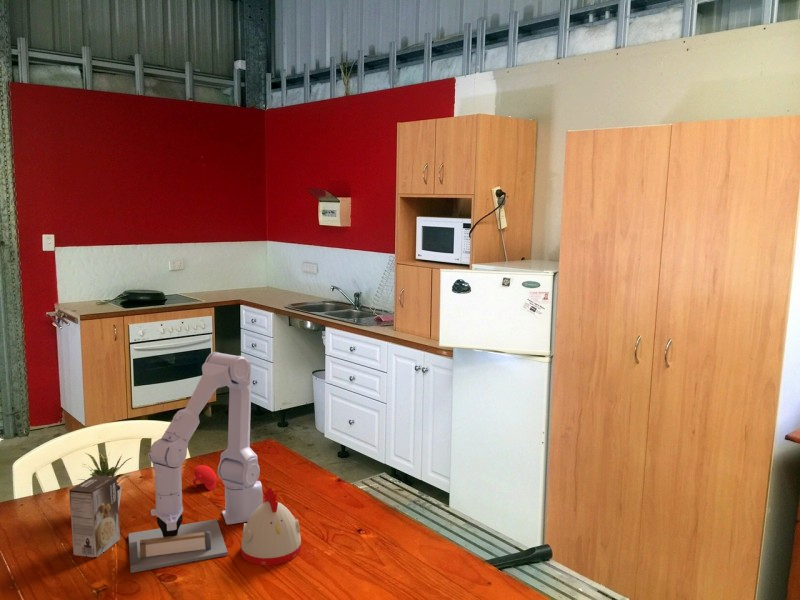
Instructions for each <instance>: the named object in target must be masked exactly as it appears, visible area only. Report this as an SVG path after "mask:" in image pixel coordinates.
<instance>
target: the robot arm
mask: <svg viewBox="0 0 800 600" xmlns="http://www.w3.org/2000/svg"><path fill="white" fill-rule="evenodd" d="M251 364H252V363H251V361H250V360H249V359H247V358H246V357H245V356H243V355H234V354H229V353H222V352H219V351H213V352H210V353H209V355H208V356H207V357H206V359H205V362H204V363H203V364H202V365H201V372H202V375H201V377H200V379H199V380H198V383H197V385H196V387H195V389H194V391H193V393H192V395H191V397H190V398H189V400H188V403H187V404H186V406H185V408H182V409H179V410H178V411H176V413H175V414H174V415H173V417H172V420H171V421H170V423H169V425H168V427H167V428H166V430H165V431H164V433H163V435H162V436H161V437H160V438H158V439H157V440H155V441H154V442H152V444H151V447H150V450H149V452H148V453H147V456H148V459H149V461H150V462H151V464H152V469H153V470H154V485H155V486H154V487H155V488H154V489H155V490H154V491H155V492H154V493H155V508H154V509H151V510H150V516H153V517H154V516H155V517H156V524H157V526H158V528H160V529H161V531H162V534H163V537H169V536H177V534H178V530H179V527H180V525H182V523H183V520H184V517H183V512H184V506H183V492H182V490H183V489H182V485H183V484H182V464H183V463H184V461H185V460H186V459H187V455H188V447H189V442H190V440H191V439H192V436H193V435H194V433H195V431H196V430H197V428H198V426H199V424H200V421H201V420H200V417H199V415H200V414H201V412H202V410H203V409H204V408H205V406H206V405H207V403H208V402H209V400H210V399H211V398H212V396H213V395H214V393H216V390H217V389H220V388H224V387H227V388H229V395H228V396H229V397H228V428H227V429H228V434H227V436H228V437H227V448H226V449H225V450H223V451H222V452H221V453H220V459H219V463H218V466H217V475H218V477H219V478H220V480H222V484H223V485H224V502H225V503H224V504H225V505H224V508H225V510H222V511H221V513H222V517H223V519H224V522H225V524H226V525H233V524H234V525H235V524H239V523H240V524H241V523H246V522H248V520H249V518H250V516H251V515H252V513H253V512H254V511H255V510H256V509H257V508H258V507H259V506H260V505H261V504H263V503H264V492H263V486H262V482H261V481H260V480H259V477H260V475H261V474H260V472H261V470H260V465H259V462H258V458H259V457H258V455H257V454H256V452H254V451H253V449H252V448H251V447H250V444H251V443H250V441H251V439H250V438H251V410H252V408H251V407H252V406H251V405H252V404H251V403H252V376H251V373H252V372H251V371H252V366H251Z"/></svg>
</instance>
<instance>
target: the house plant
mask: <svg viewBox="0 0 800 600" xmlns="http://www.w3.org/2000/svg"><path fill="white" fill-rule="evenodd" d="M110 453H111V452H109V455H108V456H107V457H105V456H104V455H103V454H101V453H100V452H98V457H99V465H98V463H97V461H96V459H95V457H94V456H93V455H91V454H90V453H86V452H84V454H86V455H88V457H89V458H90V459H91V461H92V462H93V464H94V466H95V468H96V469H95V468H94V469H93V468H92V466H89V468H90V469H89V468H88V467H87V469H88V470H90V472H91V473H90V474H89V475H90V477H92V476H94V475H95V476H108V477H117V480H118V481H117V493H118V510H120V502H121V494H122V485H120V484H119V483H120V482H121V481H122V480H124V479H125V478H130V476H129V475H126V474H125V473H119V474H117V472H118V471H119V470H120V469H121V468H122V466H124V465H125V464H126V463H127V461H129V460H132V459H133V458H134V457H129V458H127V459H126V460H125V461H123V463H122V464H121V465H119V463H120V461H121V460H122V459H121V458H122V456H123V454H121V456H120V457H119V458H118V460H117V462H116V464H115V466H111V467H110V468H109V464H108V463H109V462H108V460H109V456H110ZM83 465H84V466H83V467H85V468H86V464H84V463H83ZM118 466H119V467H118ZM116 474H117V475H116ZM122 476H124V477H122ZM120 477H122V478H121V479H120V480H119V478H120ZM77 480H79V481H82V480H83V481H85V479H82V478H79V479H78V478H77Z"/></svg>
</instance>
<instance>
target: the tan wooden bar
mask: <svg viewBox="0 0 800 600" xmlns="http://www.w3.org/2000/svg"><path fill="white" fill-rule="evenodd" d="M201 549H205V542H204V532H201V533H193V534H185V535H177V536H169V537H161V538H153V539H145V540H140V558H144V557H148V556H156V555H163V554H171V553H178V552H186V551H194V550H201Z"/></svg>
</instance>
